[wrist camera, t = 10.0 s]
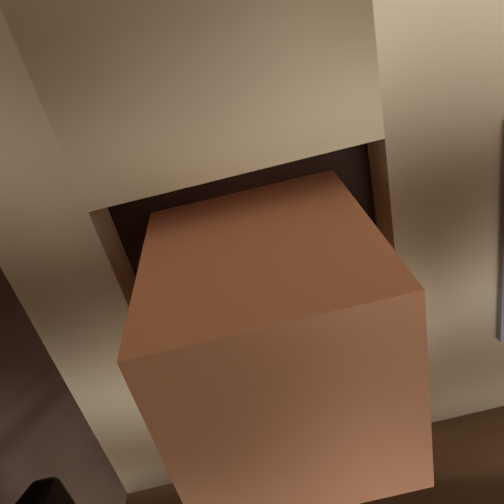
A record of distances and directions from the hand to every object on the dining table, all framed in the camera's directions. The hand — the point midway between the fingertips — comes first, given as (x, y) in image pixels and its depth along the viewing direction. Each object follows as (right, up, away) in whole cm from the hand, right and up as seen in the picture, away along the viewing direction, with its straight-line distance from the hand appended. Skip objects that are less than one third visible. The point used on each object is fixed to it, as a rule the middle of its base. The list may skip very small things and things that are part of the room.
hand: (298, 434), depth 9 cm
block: (-1, +3, +5) cm, 6 cm away
